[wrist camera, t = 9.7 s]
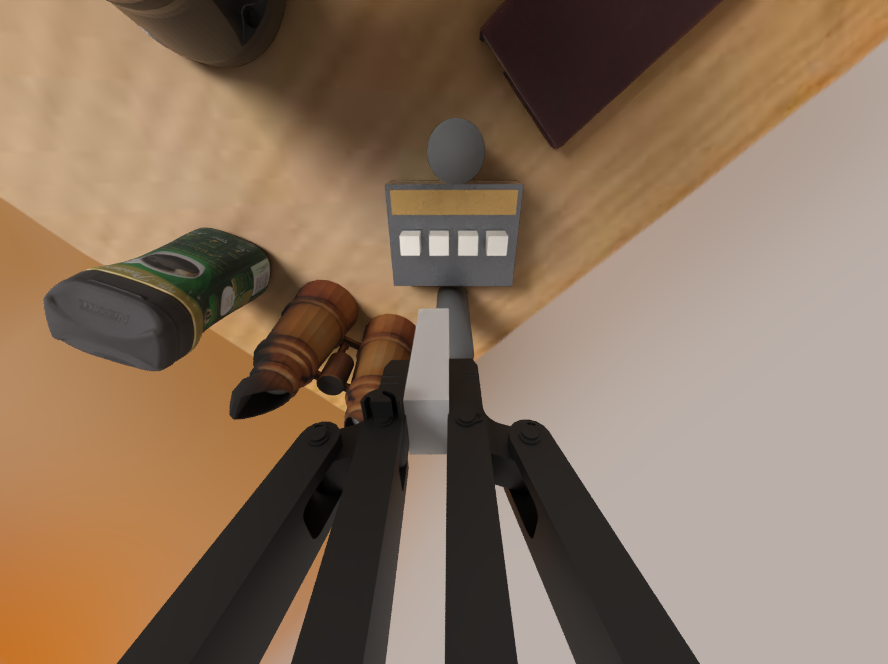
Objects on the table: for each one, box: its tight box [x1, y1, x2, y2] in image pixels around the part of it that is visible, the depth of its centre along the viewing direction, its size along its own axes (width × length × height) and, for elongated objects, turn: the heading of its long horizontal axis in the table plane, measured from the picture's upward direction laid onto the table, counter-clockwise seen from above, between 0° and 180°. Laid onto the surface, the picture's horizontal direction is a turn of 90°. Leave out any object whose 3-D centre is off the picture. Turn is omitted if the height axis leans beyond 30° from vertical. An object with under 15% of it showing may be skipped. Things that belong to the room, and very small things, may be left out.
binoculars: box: [230, 280, 416, 428], centre depth 37 cm, size 18×8×20 cm, turn 60°
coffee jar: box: [44, 228, 270, 371], centre depth 33 cm, size 10×8×19 cm
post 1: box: [427, 118, 485, 184], centre depth 28 cm, size 4×4×14 cm
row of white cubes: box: [399, 231, 508, 256], centre depth 34 cm, size 2×11×2 cm, turn 90°
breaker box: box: [385, 180, 524, 286], centre depth 36 cm, size 11×14×4 cm
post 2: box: [436, 286, 474, 359], centre depth 37 cm, size 4×4×14 cm
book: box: [480, 0, 722, 149], centre depth 27 cm, size 12×19×3 cm, turn 133°
